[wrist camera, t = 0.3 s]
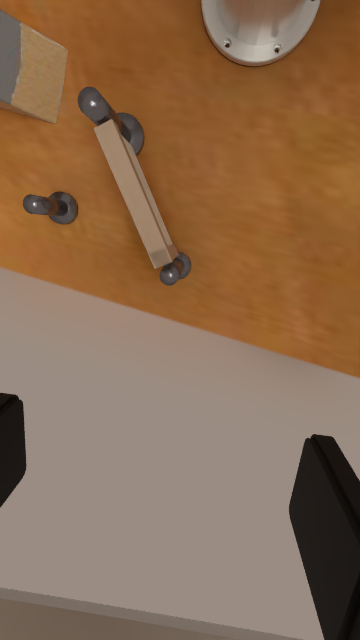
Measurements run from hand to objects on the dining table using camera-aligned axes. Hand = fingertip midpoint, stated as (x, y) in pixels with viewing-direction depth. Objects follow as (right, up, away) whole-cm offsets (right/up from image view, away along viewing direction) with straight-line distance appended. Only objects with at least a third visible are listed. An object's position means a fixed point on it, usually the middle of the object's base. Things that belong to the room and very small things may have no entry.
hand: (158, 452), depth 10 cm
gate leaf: (-3, +19, +30) cm, 36 cm away
